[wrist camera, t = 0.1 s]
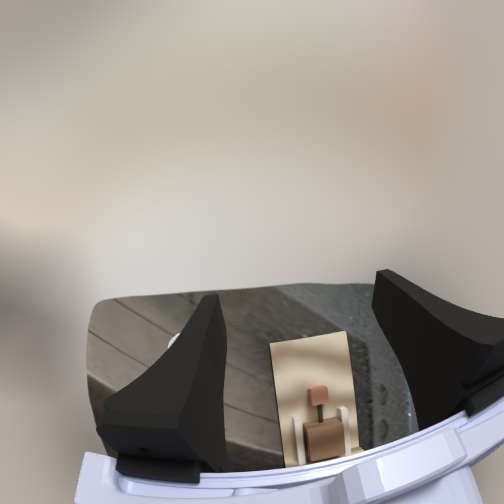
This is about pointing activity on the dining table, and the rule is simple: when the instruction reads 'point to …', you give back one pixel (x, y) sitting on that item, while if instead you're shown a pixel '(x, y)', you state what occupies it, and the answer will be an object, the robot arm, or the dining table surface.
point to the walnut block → (323, 429)
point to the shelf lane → (310, 375)
